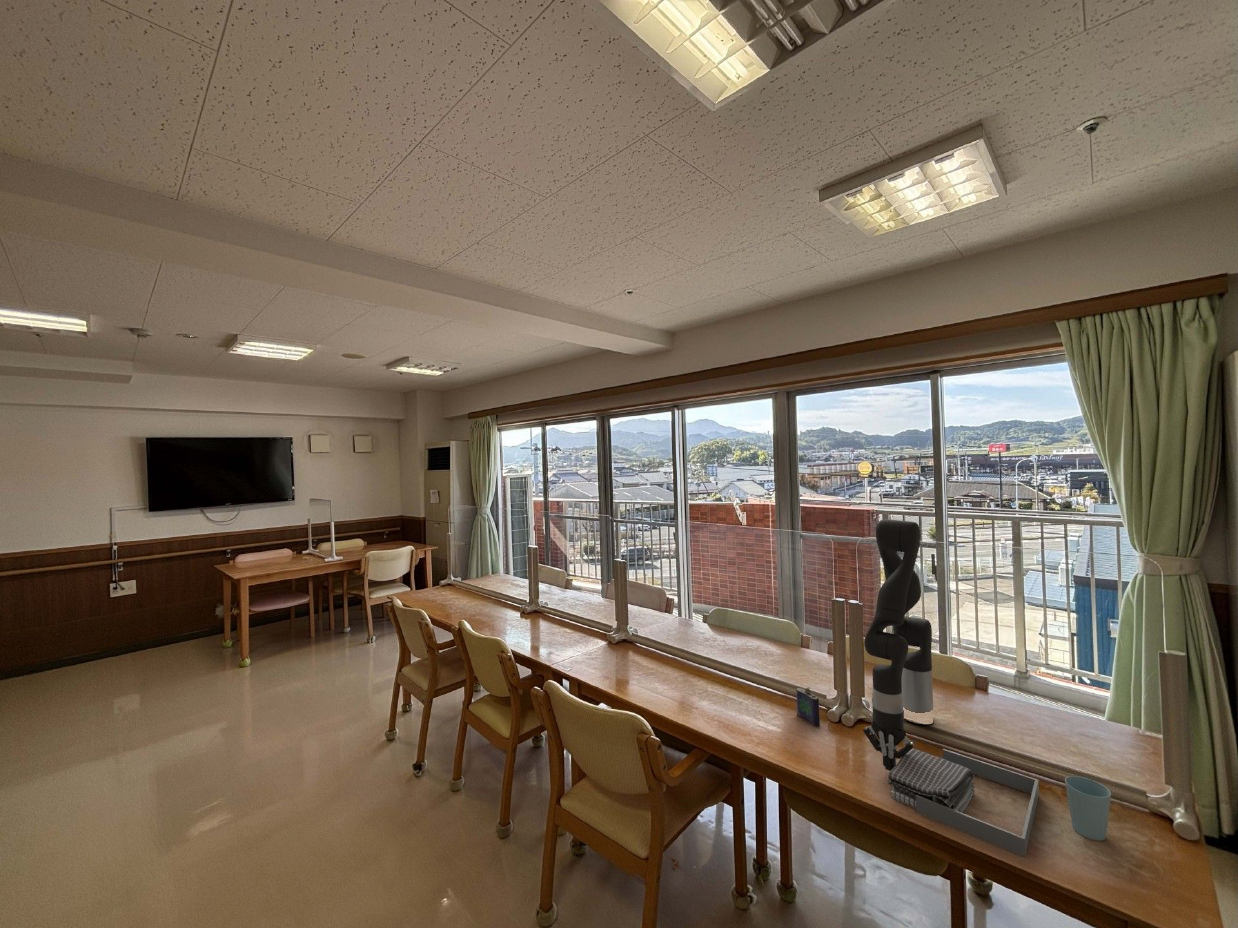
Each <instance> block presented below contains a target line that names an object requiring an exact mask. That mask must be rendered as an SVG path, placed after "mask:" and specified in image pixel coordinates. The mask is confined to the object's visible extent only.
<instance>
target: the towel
mask: <svg viewBox="0 0 1238 928" xmlns="http://www.w3.org/2000/svg"><path fill="white" fill-rule="evenodd" d="M898 760H899V761H897V762H896V765H895V767H894V768H893V769H892V770H890V771H889V772H888V781H887V784H888V786H889V785H890V786H891V787H892V788H893V789H892V790H891V791H890V795H891V798H892V799H893V800H895V801H897V802H899V803H901V804H904V805H907V806H909V807H911V808H914V809H916V795H918V796H921V797H923V798H926V799H928V800H931V801H933V802H936V803H938V804H941V805H943V806H946V807H948V808H951V809H953V810H956V811H959V812H961V813H964V812H965V811H966V809H967V808H968V806H969V804H970V802H971V800H973V799H972V798H973V796H974V794H975V784H974V781H975V775H974V773H973V772H972V771H971V770H970V769H968V768H966V767H963V766H962V765H959V764H956V763H953V762H950V761H948V760H946V759H943V757H938V756H936V755H932V754H930V753H928V752H925V751H922V750H919V749H918V748H914V747H913V748H912V749H911V750H910V751H909V752H907V753H906V754H905V755H904V756H903V757H901V758H900V759H898ZM964 814H965V813H964Z"/></svg>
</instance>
